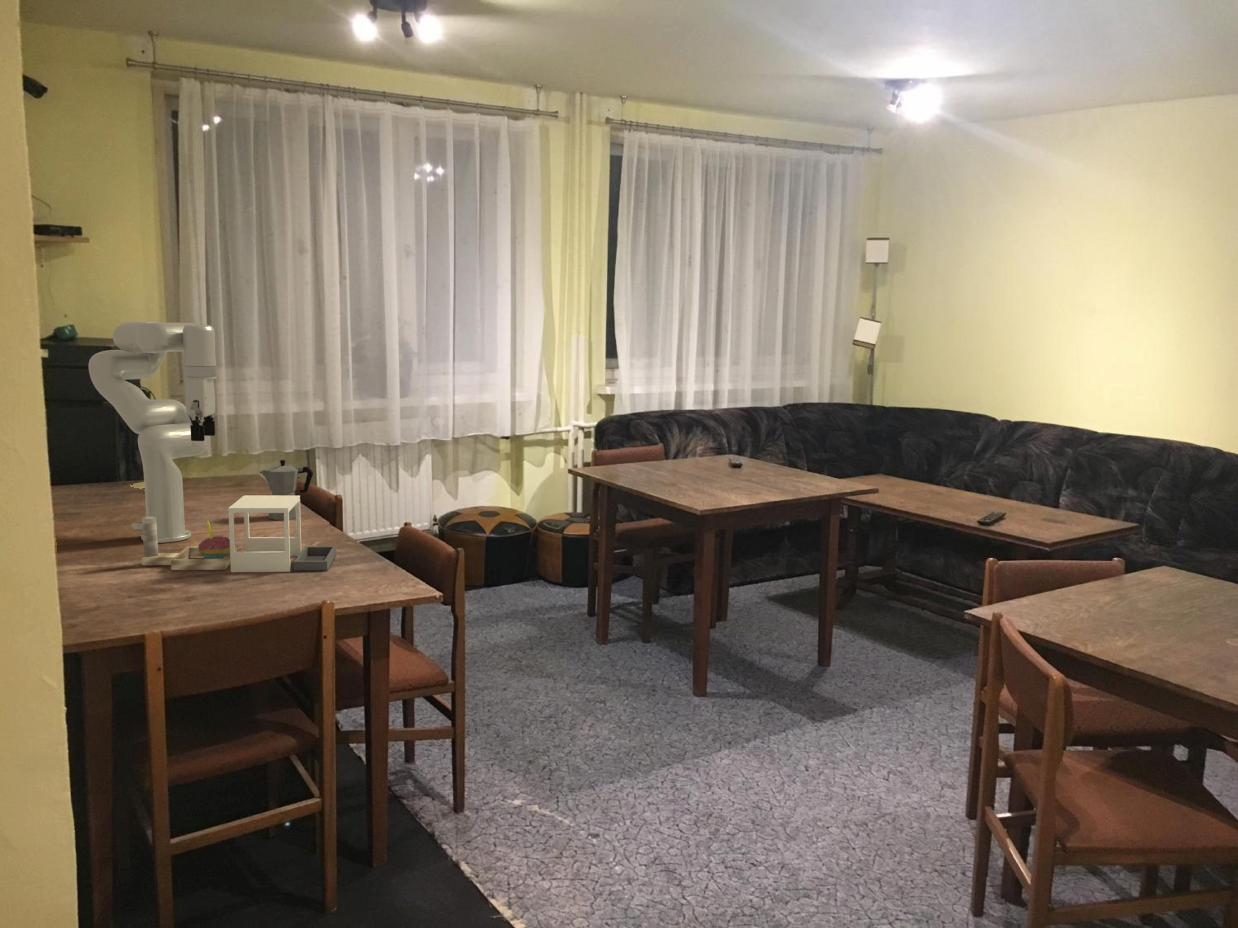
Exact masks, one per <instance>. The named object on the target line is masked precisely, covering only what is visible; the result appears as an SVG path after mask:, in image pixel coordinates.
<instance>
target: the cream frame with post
mask: <svg viewBox="0 0 1238 928" xmlns="http://www.w3.org/2000/svg"><path fill="white" fill-rule="evenodd" d="M141 522H142V523H141V524H142V528H143V532H142V534H143V540H142V542H143V556H142V557H141V565H142V566H170V568H171V571H195V570H196V571H197V570H198V571H199V570H201V571H202V570H203V571H205V570H206V571H208V570H209V571H210V570H212V571H213V570H218V571H219V570H221V571H222V570H224V571H225V570H226V569H227V568H228V567H229V566H231V560H230V554H228V555H226V556H225V557H224V558H223V559H205V558H204V556H203V555H202V554H201V553H200V552H199V551H198V547H199V546H186V547H185V548H183V549H182V550H181V551H180V552H161V553H160V552H159V546H158V545H159V543H158V541H157V522H156V517H146V516H144V517H142V518H141ZM235 552H239V545H235ZM191 557H192V558H191ZM195 557H198V558H195ZM200 557H203V558H200Z"/></svg>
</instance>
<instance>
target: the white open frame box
mask: <svg viewBox="0 0 1238 928" xmlns="http://www.w3.org/2000/svg"><path fill="white" fill-rule="evenodd" d="M295 505H296V519H295V530H296V531H295V532H296V536H290V520H289V511H290V510H291V509H292V508H293V507H294V506H295ZM266 513H267V514H269V513H284V520H283V524H284V525H283V526H284V531H283V532H284V536H280V537H279V536H276V537H275V536H274V537H273V536H272V537H271V536H269V537H268V536H267V537H265V536H263V537H261V536H260V537H258V536H257V537H255V536H254V537H253V536H252V537H251V536H250V515H249V514H266ZM235 514H243V523H244V524H243V525H244V528H243V529H244V548H245V549H244V551H238V552H235V546H236V539H235V538H236V537H235V536H236V535H235ZM301 524H302V523H301V495H295V496H280V495H272V494H271V495H255V494H254V495H246V494H245V495H243V496H241V497H240V498H239V499H238V500H236V501H235V502H234V503H233V504H231V505H230V506H229V507H228V530H229V535H228V536H229V539H230V560H231V564H230V572H231V573H273V572H274V573H277V572H278V573H279V572H281V573H283V572H284V573H285V572H286V573H287V572H288V573H289V572H291V557H298V555H299V554H300V553H301V551H302V529H301Z"/></svg>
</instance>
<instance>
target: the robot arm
mask: <svg viewBox="0 0 1238 928" xmlns="http://www.w3.org/2000/svg"><path fill="white" fill-rule="evenodd" d="M215 332H216V331H215V328H214V327H213V326H212V325H210V324H199V323H195V322H159V321H154V320H152V321H149V320H146V321H127V322H126V321H125V322H122V323H121V324H119V325H117V326H116V327H115V329H114V330H113V332H112V339H113V340H112V341H113V343H114V344H115V346H116V347H117V348H119V349H109V350H102V351H100V352H97V353H94V354H93V355H91V357H90V359H89V361H88V372H89V373H88V374H89V377H90V380H91V382H92V384H93V386H94V388H95V389H96V391H98V393H99V394H100V395H101V396H102V397H103V398H104V399H105V400H106V401H108V402H109V403H110V405H112V407H114V409H115V411H117V413H118V414H119V416H120V417H121V419H123V421H124V423H126V425H127V426H128V428H130V430H131V431H132V432H134V433H135V434H137V435H138V436H137V444H138V449H139V450H138V451H139V453H140V457H141V458H140V459H141V462H142V471H143V482H144V484H145V490H144V499H145V500H144V502H145V517H156V522H157V541H158V544H161V543H162V544H163V543H173V542H175V543H176V542H179V541H184V540H186V539H189V538H190V537H191V536H192V532H191V530H190V529H186V527H185V507H184V506H185V505H184V504H185V503H184V489H183V488H184V487H183V475H182V471H181V470H180V469H179V467H178V465H177V464H176V463H175V462H174V461H173V460H174V459H175V460H176V459H182V458H187V457H188V458H189V457H196V456H198V455H199V456H200V455H201V454H203V453H204V452H205V450H206V449H207V445H208V440H207V437H212V436H215V435H216V420H215V419H216V418H215V413H216V395H215V394H216V393H215V392H216V391H215V383H214V380H215V379H218V378H217V359H216V335H215V334H216V333H215ZM170 352H171V353H172V352H174V353H176V352H180V353H181V352H182V353H183V364H184V368H183V369H184V379H186V387H185V405H184V403H182V402H181V401H178V400H177V399H170V398H169V399H152V398H148V397H147V396H146V394H145V393H144V392H143V391H142V389H141V388H140V387H138V386H136V385H135V384H133V383H131V382H129V381H127V380H143V379H149V378H152V377H154V376H155V375H157V373H158V371H159V369H160V367H161V365H162V363H163V361H164V360H165V357H166V355H167V354H168V353H170ZM130 529H131V531H132V532H142V533H141V535H140V536H141V537H140V538H141V540H142V541H143V528H142V523H139V522H138V523H137V522H135V523H131V525H130Z"/></svg>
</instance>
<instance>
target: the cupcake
mask: <svg viewBox="0 0 1238 928" xmlns="http://www.w3.org/2000/svg"><path fill="white" fill-rule="evenodd" d="M205 520H206V526H207V531H208V536H209V538H205V539H203V540H202V541H201V542H200V543H199V544H198V546H197V547H198V551H199V552H200V553H201V554H202V555H203V556H204V557H203V559H223V558H224V557H225V556H226V555H228V554H230V538H228V537H227V536H222V535H221V536H213V533H212V528H211V524H210V521H209V520H208V519H207V518H206V519H205Z"/></svg>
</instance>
